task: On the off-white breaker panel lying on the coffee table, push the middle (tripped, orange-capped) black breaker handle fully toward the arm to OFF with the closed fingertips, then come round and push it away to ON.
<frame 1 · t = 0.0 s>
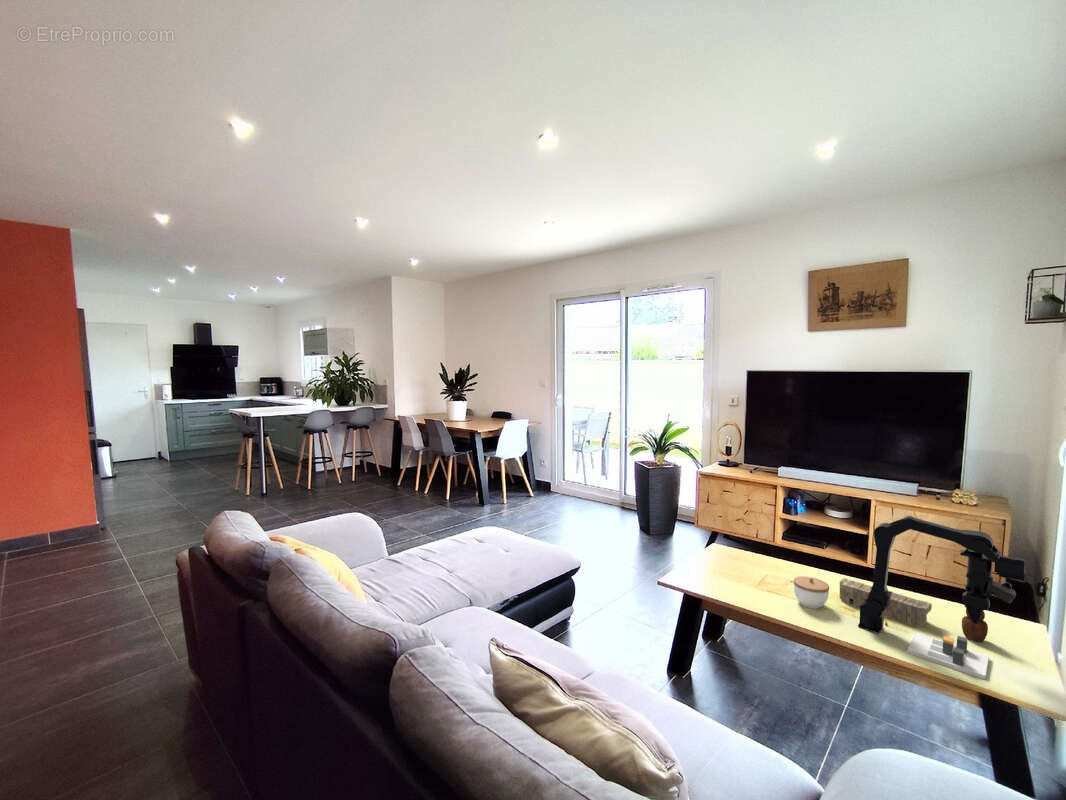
hand: (976, 618, 153), 15 cm above the table, fingers open, 9 cm apart
panel: (947, 656, 157), on the table
wooden figurine: (973, 639, 167), on the table
lidded bowl: (810, 604, 192), on the table
tripped breaker: (948, 645, 156), point 4 cm above the table, slide at 0.0 cm
block tower: (881, 611, 187), on the table
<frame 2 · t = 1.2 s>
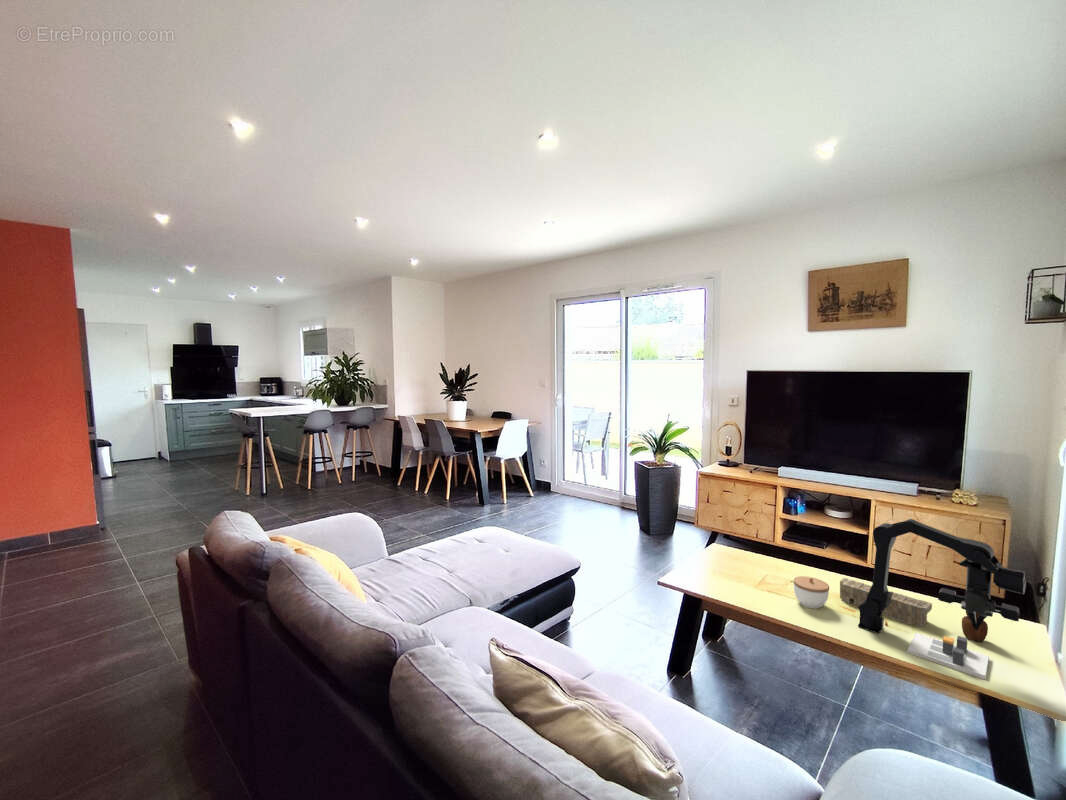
hand: (976, 629, 151), 12 cm above the table, fingers closed
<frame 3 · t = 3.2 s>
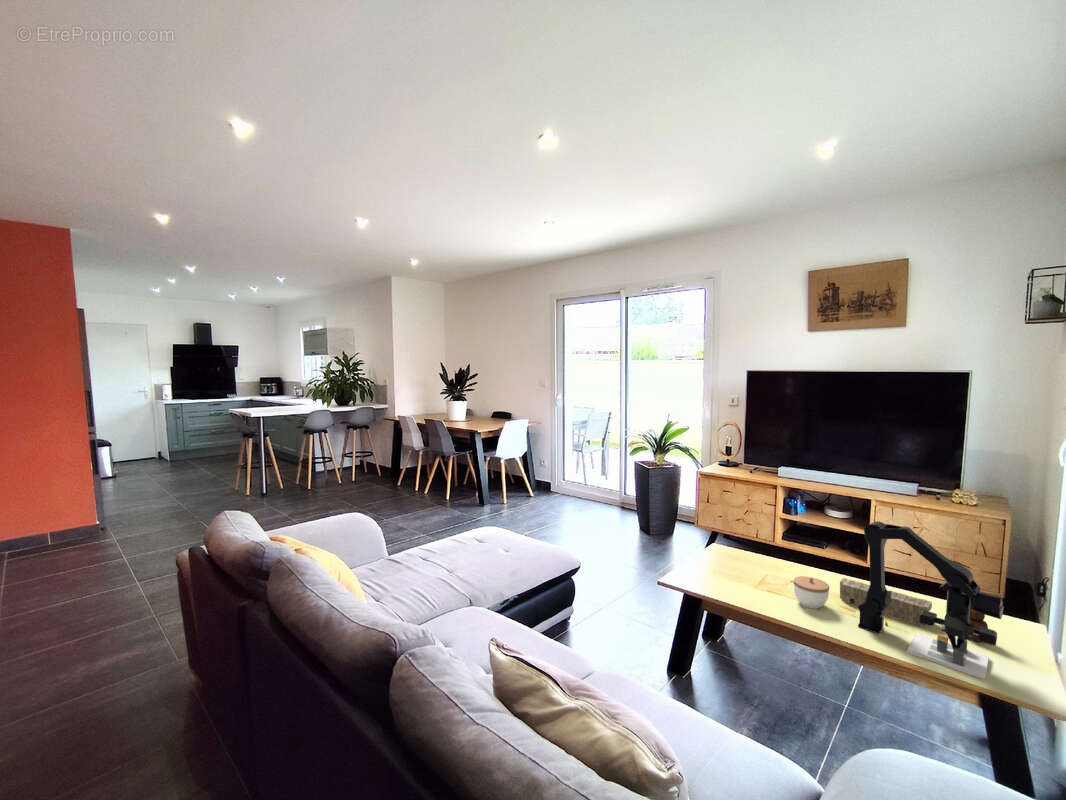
hand: (955, 651, 155), 2 cm above the table, fingers closed
tripped breaker: (942, 643, 157), point 4 cm above the table, slide at -1.5 cm, touching gripper
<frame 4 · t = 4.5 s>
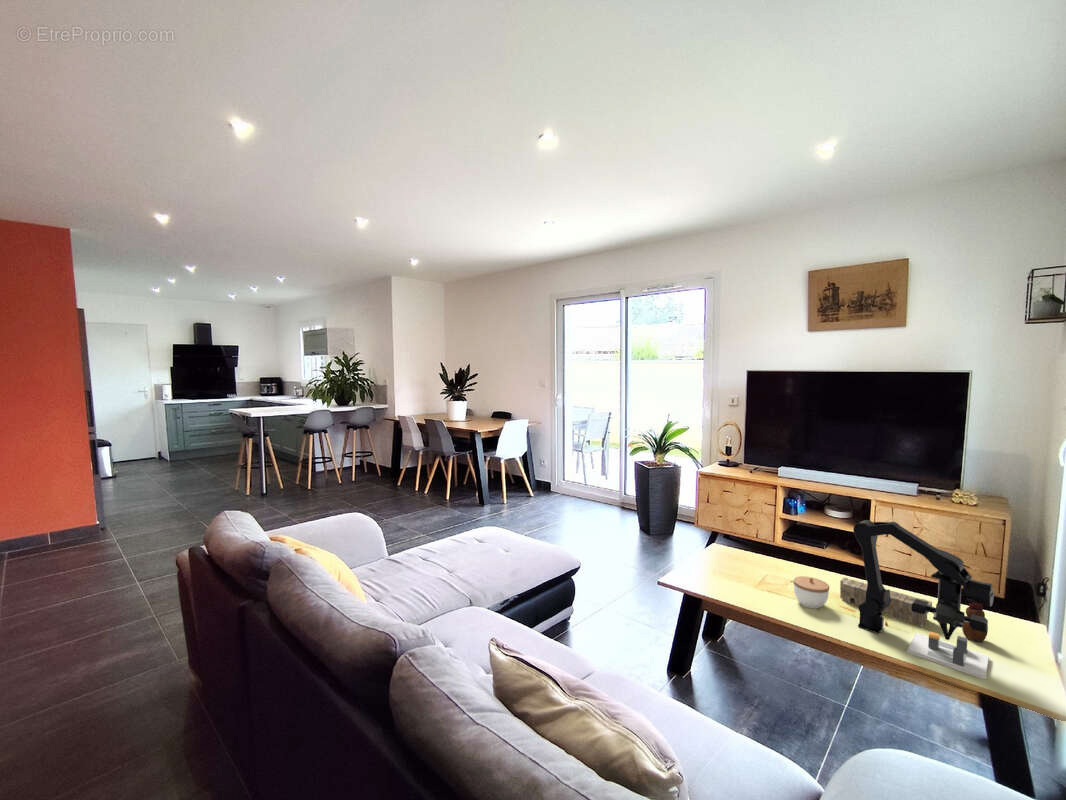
hand: (947, 639, 156), 6 cm above the table, fingers closed
tripped breaker: (933, 640, 159), point 4 cm above the table, slide at -3.7 cm
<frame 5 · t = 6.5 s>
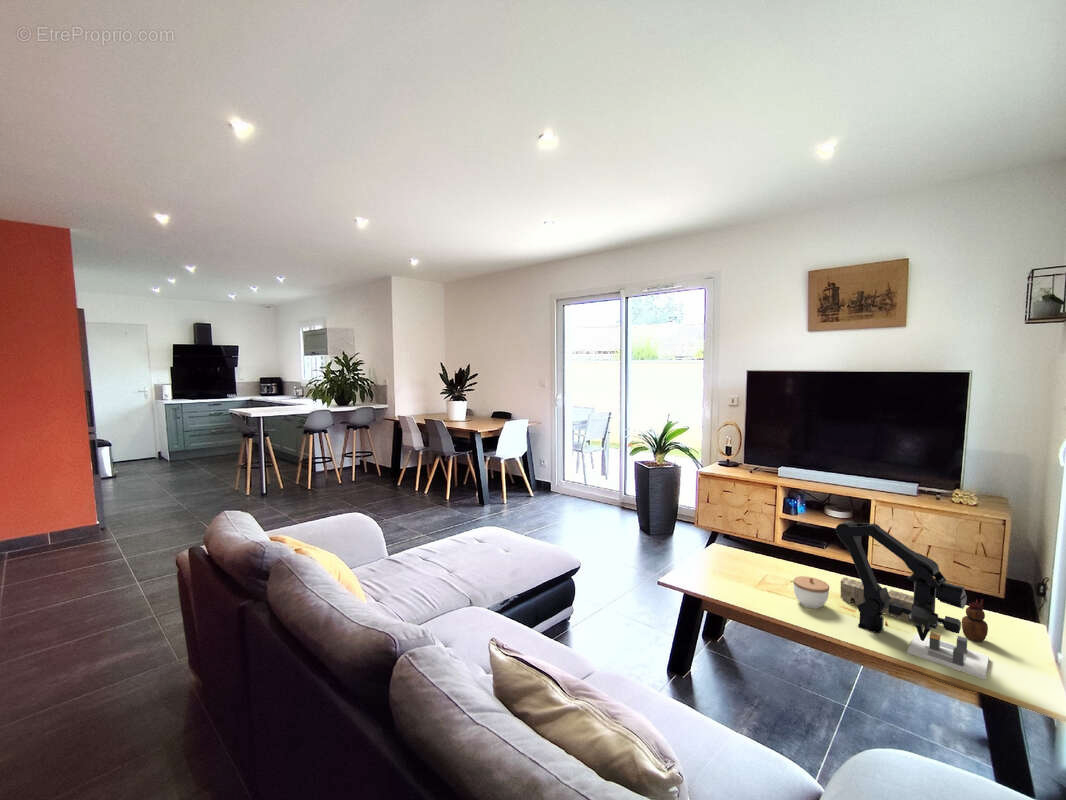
hand: (922, 640, 161), 3 cm above the table, fingers closed
tripped breaker: (934, 641, 159), point 4 cm above the table, slide at -3.4 cm, touching gripper
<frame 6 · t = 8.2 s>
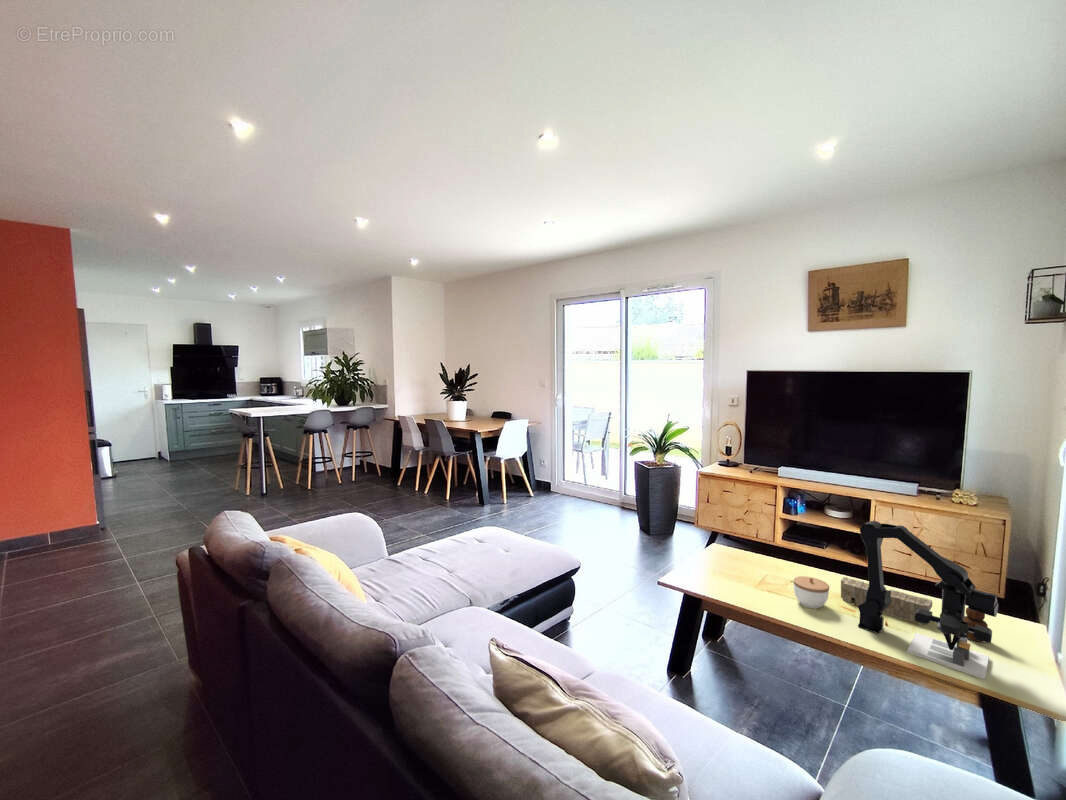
hand: (951, 649, 156), 3 cm above the table, fingers closed
tripped breaker: (964, 650, 153), point 4 cm above the table, slide at 4.0 cm, touching gripper
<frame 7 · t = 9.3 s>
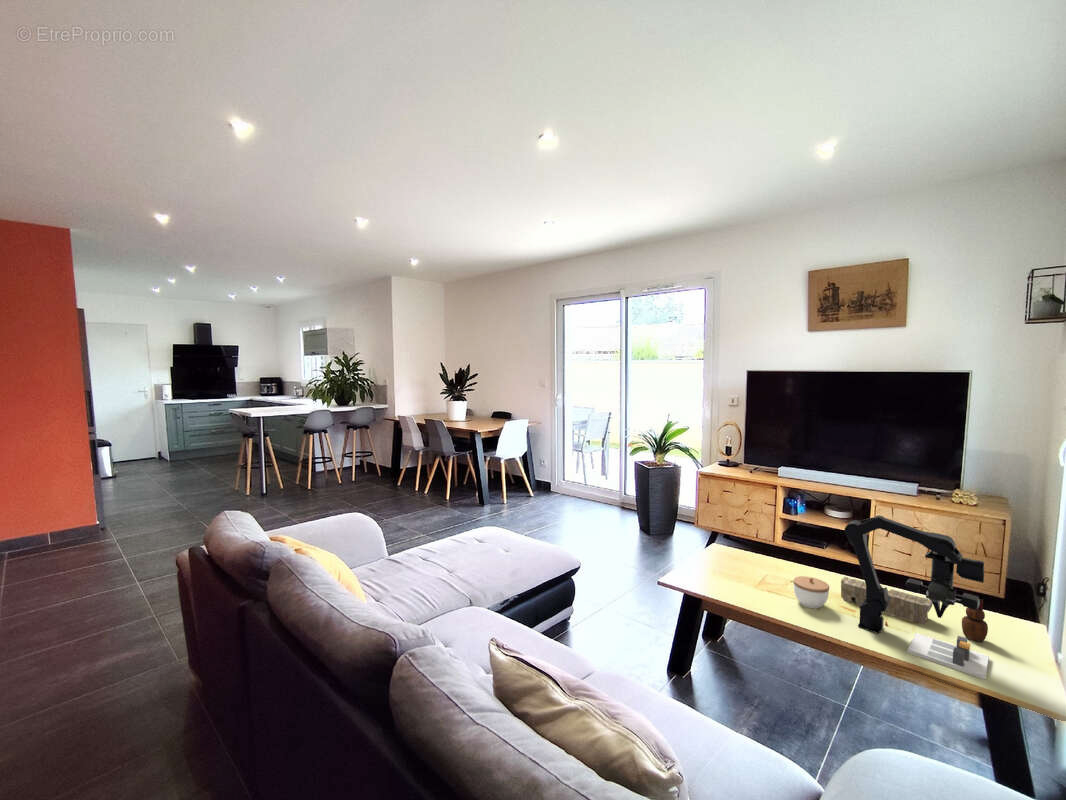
hand: (939, 617, 160), 11 cm above the table, fingers closed
tripped breaker: (964, 650, 153), point 4 cm above the table, slide at 4.0 cm
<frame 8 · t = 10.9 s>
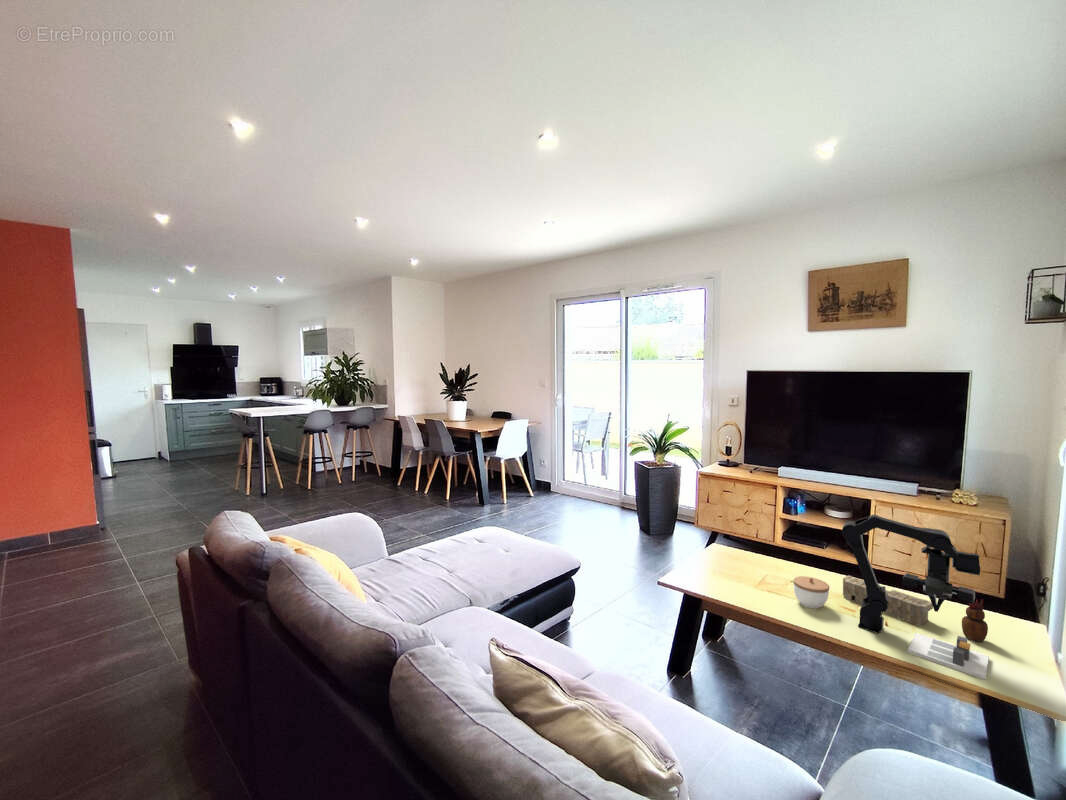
hand: (936, 611, 163), 12 cm above the table, fingers closed
at the end: tripped breaker slide at 4.0 cm; tripped breaker touching nothing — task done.
